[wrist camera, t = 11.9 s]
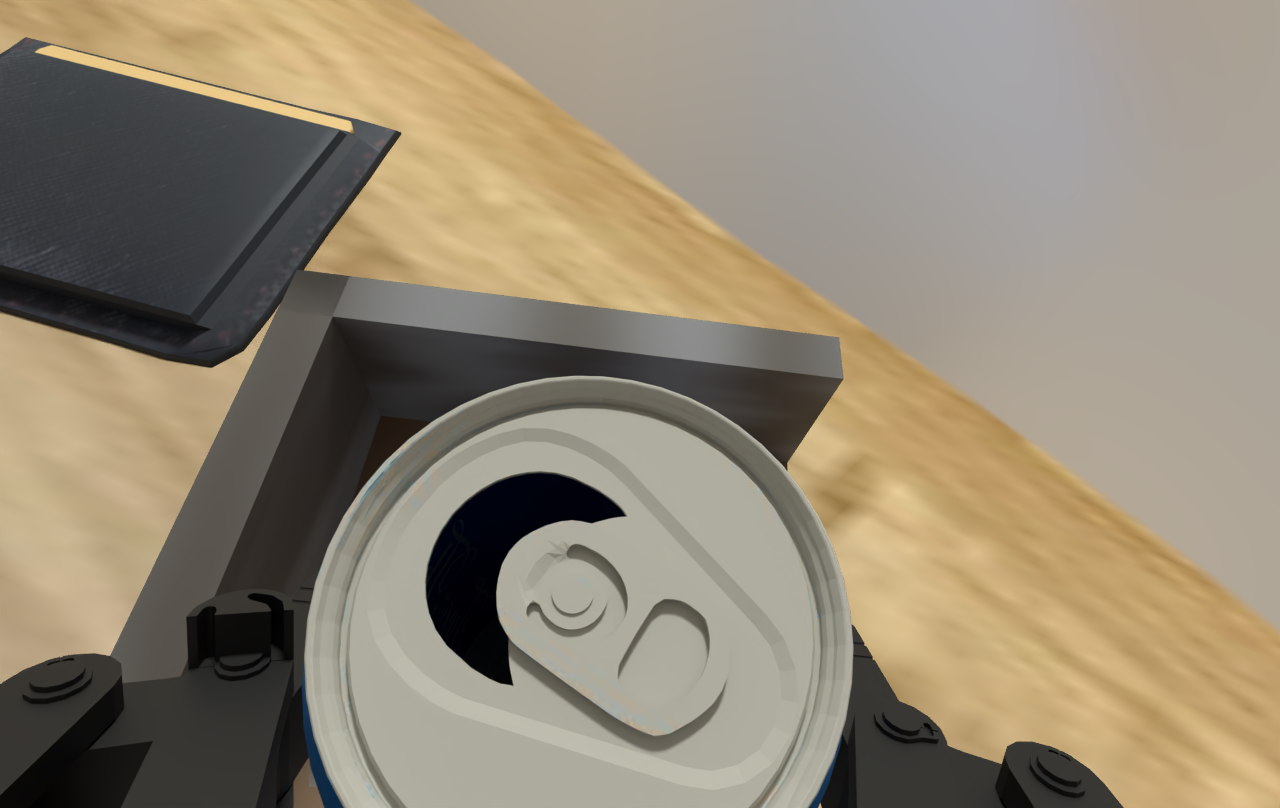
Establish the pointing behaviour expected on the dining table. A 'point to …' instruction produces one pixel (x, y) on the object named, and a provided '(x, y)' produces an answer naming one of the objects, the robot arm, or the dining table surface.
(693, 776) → the beverage can
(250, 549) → the corner tray
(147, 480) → the dining table surface
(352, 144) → the dark grey flat rectangle
